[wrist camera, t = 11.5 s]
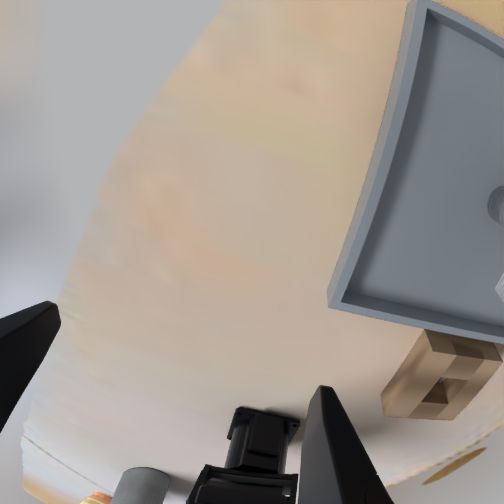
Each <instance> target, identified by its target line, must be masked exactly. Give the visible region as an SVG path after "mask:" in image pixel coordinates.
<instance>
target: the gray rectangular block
mask: <svg viewBox="0 0 504 504" xmlns="http://www.w3.org/2000/svg"><path fill="white" fill-rule="evenodd" d="M487 209H488V213H489V215H490V217H491V218H492V219H493V220H494V221H496V222H497V223H498V224H499V225H500V226H502V227H503V228H504V186H500V187H497V188H496V189H495V190H493V192H492V193H491V195H490V197H489V199H488V204H487ZM495 291H496V292H497V293H498V295H499V296H500V298H501V299H502V300H503V302H504V272H503V274H502V276H501V278H500V280H499V282H498V284H497V285H496V287H495Z"/></svg>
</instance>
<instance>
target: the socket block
mask: <svg viewBox="0 0 504 504" xmlns="http://www.w3.org/2000/svg"><path fill="white" fill-rule="evenodd" d="M502 363H503V361H502V359H501V357H500V355H499V353H498V351H497V349H496V347H495V345H494V344H493V342H487V341H482V340H476V339H471V338H466V337H461V336H456V335H451V334H445V333H440V332H436V331H431V330H426V329H424V331H423V332H422V334H421V336H420V337H419V339H418V340H417V342H416V344H415V345H414V347H413V348H412V350H411V351H410V353H409V355H408V356H407V358H406V359H405V361H404V362H403V364H402V365H401V366H400V368H399V369H398V371H397V372H396V374H395V375H394V377H393V378H392V379H391V381H390V382H389V384H388V385H387V386H386V388H385V389H384V391H383V392H382V393H381V400H382V407H383V415H384V416H389V417H400V418H413V419H430V420H454V419H455V418H456V416H457V415H458V414H459V413H460V412H461V411H462V410H463V409H464V408H465V407H466V406H467V405H468V404H469V403H470V401H471V400H472V399H473V398H474V397H475V396H476V395H477V393H478V392H479V391H480V390H481V389H482V388H483V386H484V385H485V384H486V383H487V382H488V380H489V379H490V378H491V377H492V375H493V374H494V373H495V372H496V370H497V369H498V368H499V367H500V365H501V364H502ZM440 377H445V378H447V379H446V380H445V381H444V382H443V384H440V383H437V381H438V380H439V379H440Z"/></svg>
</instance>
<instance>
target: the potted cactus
mask: <svg viewBox="0 0 504 504" xmlns="http://www.w3.org/2000/svg"><path fill="white" fill-rule="evenodd" d="M111 500H112V498H110V497H108V496H106V495H103V494H101V493H98V492H94V495H92V496H89V497H87V498H86V499H84V500H83V501H82V502H81V503H77V504H110V502H111Z"/></svg>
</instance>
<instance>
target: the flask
mask: <svg viewBox="0 0 504 504" xmlns="http://www.w3.org/2000/svg"><path fill="white" fill-rule="evenodd" d="M170 481H171V480H170V478H169V476H167V475H166V474H164V473H163V472H161V471H158V470H156V469H152V468H146V467H141V468H133V469H129V470H127V471H125V472H124V473H123V475H122V477H121V480H120V482H119V484H118V486H117V489H116V491H115V493H114V495H113V498H112V500H111V502H110V504H163V501H164V498H165V495H166V492H167V489H168V487H169V484H170Z"/></svg>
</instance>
